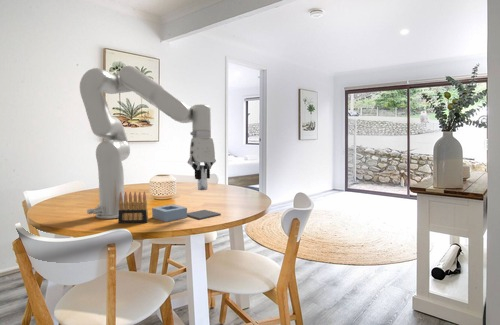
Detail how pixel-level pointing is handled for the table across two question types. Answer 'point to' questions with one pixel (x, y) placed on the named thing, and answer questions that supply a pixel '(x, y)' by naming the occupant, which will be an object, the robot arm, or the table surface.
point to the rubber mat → (202, 214)
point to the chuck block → (169, 213)
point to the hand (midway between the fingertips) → (202, 178)
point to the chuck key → (203, 178)
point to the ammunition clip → (132, 209)
